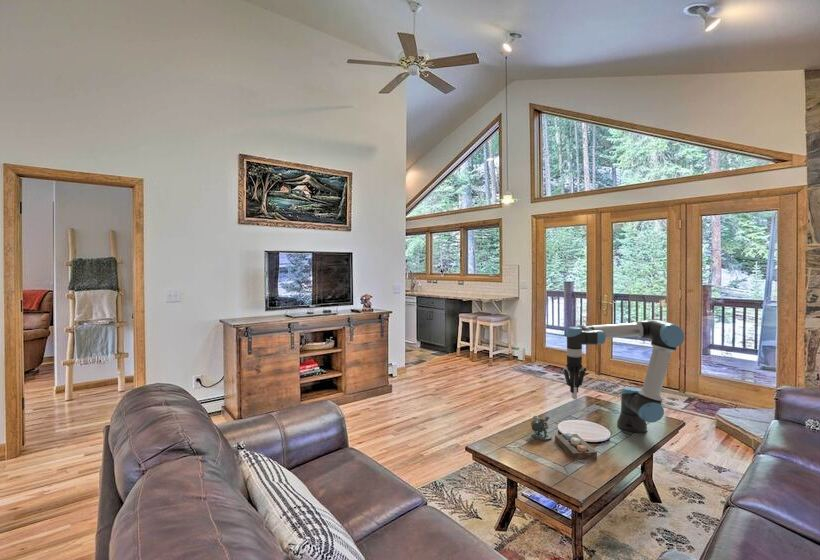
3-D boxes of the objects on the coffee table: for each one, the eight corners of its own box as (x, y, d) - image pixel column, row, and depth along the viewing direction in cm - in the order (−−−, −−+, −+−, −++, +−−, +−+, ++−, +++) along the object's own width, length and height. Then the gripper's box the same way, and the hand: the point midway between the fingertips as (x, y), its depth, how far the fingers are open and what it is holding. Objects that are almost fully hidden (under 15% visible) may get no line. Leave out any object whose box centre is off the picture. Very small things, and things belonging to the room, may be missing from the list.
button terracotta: (583, 450, 202) (583, 444, 202) (588, 454, 198) (588, 448, 198) (575, 450, 202) (575, 444, 202) (579, 455, 198) (579, 449, 197)
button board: (576, 440, 217) (576, 433, 217) (596, 459, 197) (597, 452, 197) (554, 441, 216) (555, 434, 216) (573, 460, 196) (573, 453, 196)
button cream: (576, 442, 209) (577, 437, 209) (581, 446, 204) (581, 441, 204) (568, 443, 208) (569, 437, 208) (573, 447, 204) (573, 441, 204)
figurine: (552, 441, 215) (553, 420, 214) (532, 440, 217) (532, 418, 217) (550, 433, 226) (550, 412, 225) (530, 431, 228) (530, 411, 227)
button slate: (570, 438, 215) (570, 433, 215) (574, 442, 211) (575, 436, 211) (562, 438, 215) (563, 433, 215) (566, 442, 211) (567, 437, 210)
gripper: (582, 353, 221) (581, 395, 223) (559, 354, 220) (559, 396, 221) (589, 356, 214) (589, 400, 215) (566, 358, 212) (566, 401, 214)
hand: (574, 398), depth 218 cm, fingers closed
